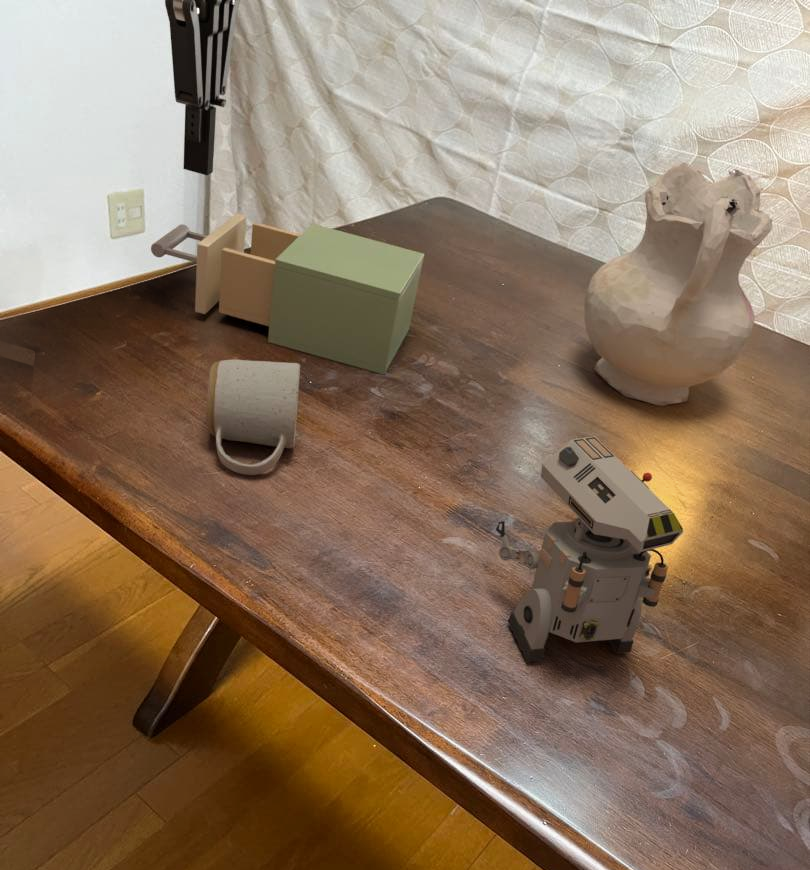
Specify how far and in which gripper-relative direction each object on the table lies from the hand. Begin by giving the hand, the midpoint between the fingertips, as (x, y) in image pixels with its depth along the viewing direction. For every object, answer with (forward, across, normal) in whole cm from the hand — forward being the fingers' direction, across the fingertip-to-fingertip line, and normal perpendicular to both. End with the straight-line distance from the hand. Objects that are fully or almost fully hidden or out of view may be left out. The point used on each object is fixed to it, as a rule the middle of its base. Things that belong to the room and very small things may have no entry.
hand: (198, 170), depth 93 cm
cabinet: (+14, 0, -18) cm, 23 cm away
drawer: (+13, 0, -6) cm, 15 cm away
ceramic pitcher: (+14, +9, -54) cm, 57 cm away
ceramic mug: (+15, -26, -17) cm, 34 cm away
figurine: (+14, -38, -47) cm, 62 cm away
